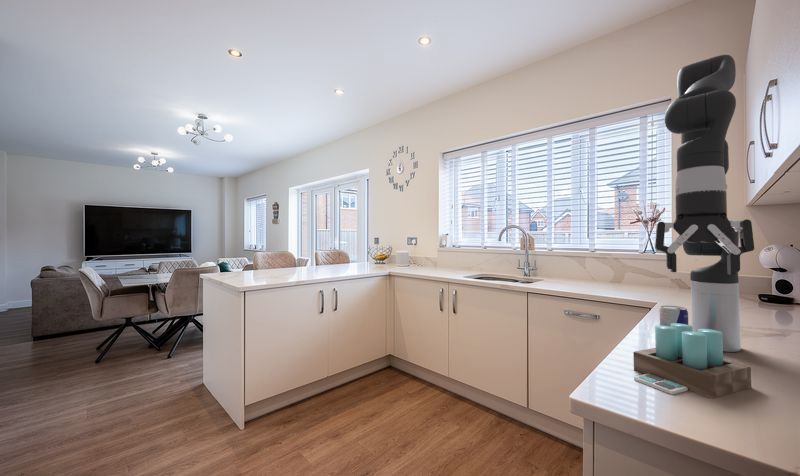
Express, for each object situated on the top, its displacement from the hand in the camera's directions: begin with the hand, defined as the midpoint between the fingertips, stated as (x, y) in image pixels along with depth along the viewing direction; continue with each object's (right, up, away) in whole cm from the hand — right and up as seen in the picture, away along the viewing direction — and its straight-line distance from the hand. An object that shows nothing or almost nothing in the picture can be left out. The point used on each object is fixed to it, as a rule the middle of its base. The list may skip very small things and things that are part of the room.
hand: (701, 273), depth 64 cm
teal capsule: (+1, -19, +6) cm, 20 cm away
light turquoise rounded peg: (-2, -19, -1) cm, 19 cm away
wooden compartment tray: (0, -22, +3) cm, 22 cm away
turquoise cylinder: (+3, -19, +1) cm, 20 cm away
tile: (-9, -22, 0) cm, 24 cm away
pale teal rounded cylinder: (-3, -20, +4) cm, 20 cm away
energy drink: (+7, -22, +15) cm, 28 cm away
